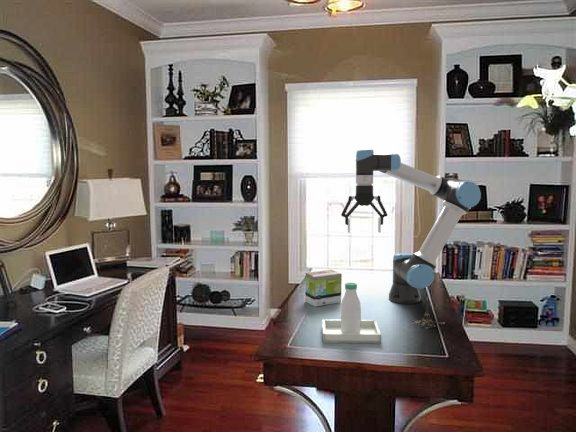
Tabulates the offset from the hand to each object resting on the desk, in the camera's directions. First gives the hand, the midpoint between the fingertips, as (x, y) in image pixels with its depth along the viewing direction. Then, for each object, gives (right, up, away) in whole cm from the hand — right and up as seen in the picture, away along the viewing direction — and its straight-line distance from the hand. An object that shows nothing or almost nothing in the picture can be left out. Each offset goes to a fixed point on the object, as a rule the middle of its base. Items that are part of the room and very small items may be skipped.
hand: (364, 232), depth 213 cm
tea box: (-17, -35, +19) cm, 43 cm away
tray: (-9, -40, -23) cm, 47 cm away
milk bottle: (-9, -39, -24) cm, 47 cm away
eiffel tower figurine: (+24, -39, -13) cm, 48 cm away
